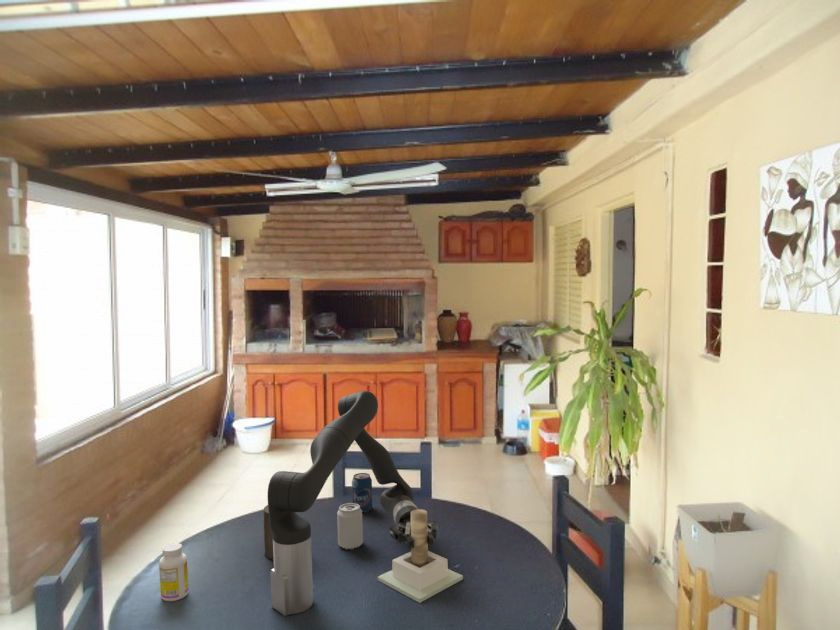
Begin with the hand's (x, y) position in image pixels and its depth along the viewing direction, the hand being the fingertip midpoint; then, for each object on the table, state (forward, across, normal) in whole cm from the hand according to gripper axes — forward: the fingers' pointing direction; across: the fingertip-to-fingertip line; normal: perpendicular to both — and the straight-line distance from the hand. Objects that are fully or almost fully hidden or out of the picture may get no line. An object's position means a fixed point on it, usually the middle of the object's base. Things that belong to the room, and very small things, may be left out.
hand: (421, 543), depth 157 cm
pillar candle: (-29, -36, +12) cm, 47 cm away
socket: (-3, 0, +11) cm, 12 cm away
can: (-28, -15, +12) cm, 34 cm away
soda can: (-55, -8, +12) cm, 57 cm away
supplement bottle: (-12, -63, +12) cm, 65 cm away
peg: (-3, 0, +9) cm, 9 cm away
